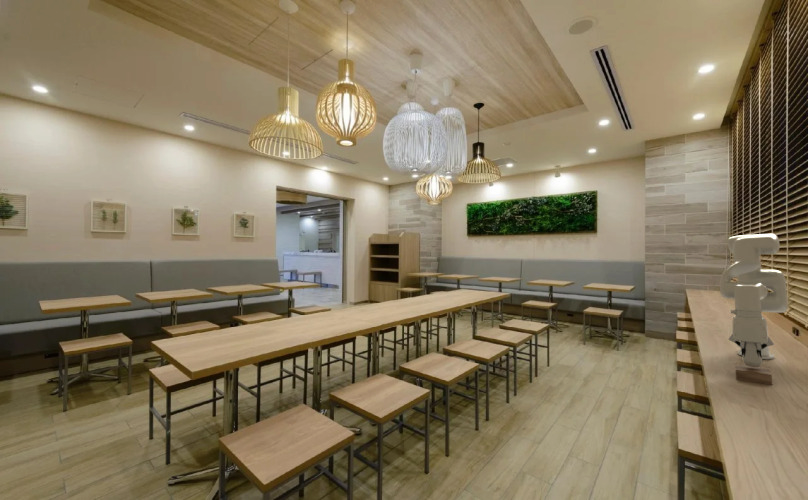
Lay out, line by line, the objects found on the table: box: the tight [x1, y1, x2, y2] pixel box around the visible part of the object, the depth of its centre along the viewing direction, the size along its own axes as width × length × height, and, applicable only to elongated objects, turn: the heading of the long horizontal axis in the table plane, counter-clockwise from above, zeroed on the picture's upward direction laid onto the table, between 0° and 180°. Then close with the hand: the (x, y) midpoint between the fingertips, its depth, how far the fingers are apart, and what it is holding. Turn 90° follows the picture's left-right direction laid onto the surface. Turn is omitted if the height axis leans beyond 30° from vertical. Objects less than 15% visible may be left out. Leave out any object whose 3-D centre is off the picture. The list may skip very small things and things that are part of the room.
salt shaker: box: [741, 342, 763, 367], centre depth 138 cm, size 6×6×13 cm
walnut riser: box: [735, 363, 773, 386], centre depth 138 cm, size 10×10×4 cm
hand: (751, 357), depth 138 cm, fingers closed on salt shaker, 3 cm apart
